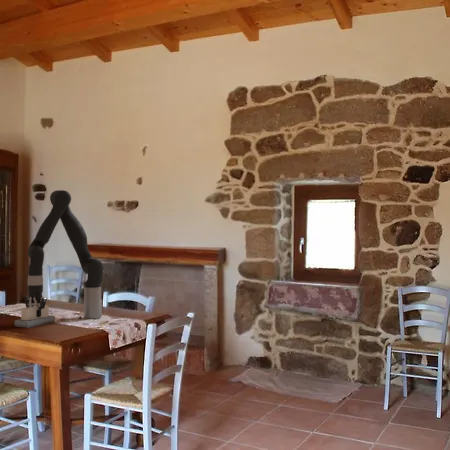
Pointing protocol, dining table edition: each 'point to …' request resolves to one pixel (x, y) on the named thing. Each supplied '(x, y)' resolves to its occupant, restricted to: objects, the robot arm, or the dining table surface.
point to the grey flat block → (34, 322)
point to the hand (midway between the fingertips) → (35, 316)
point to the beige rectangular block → (33, 313)
